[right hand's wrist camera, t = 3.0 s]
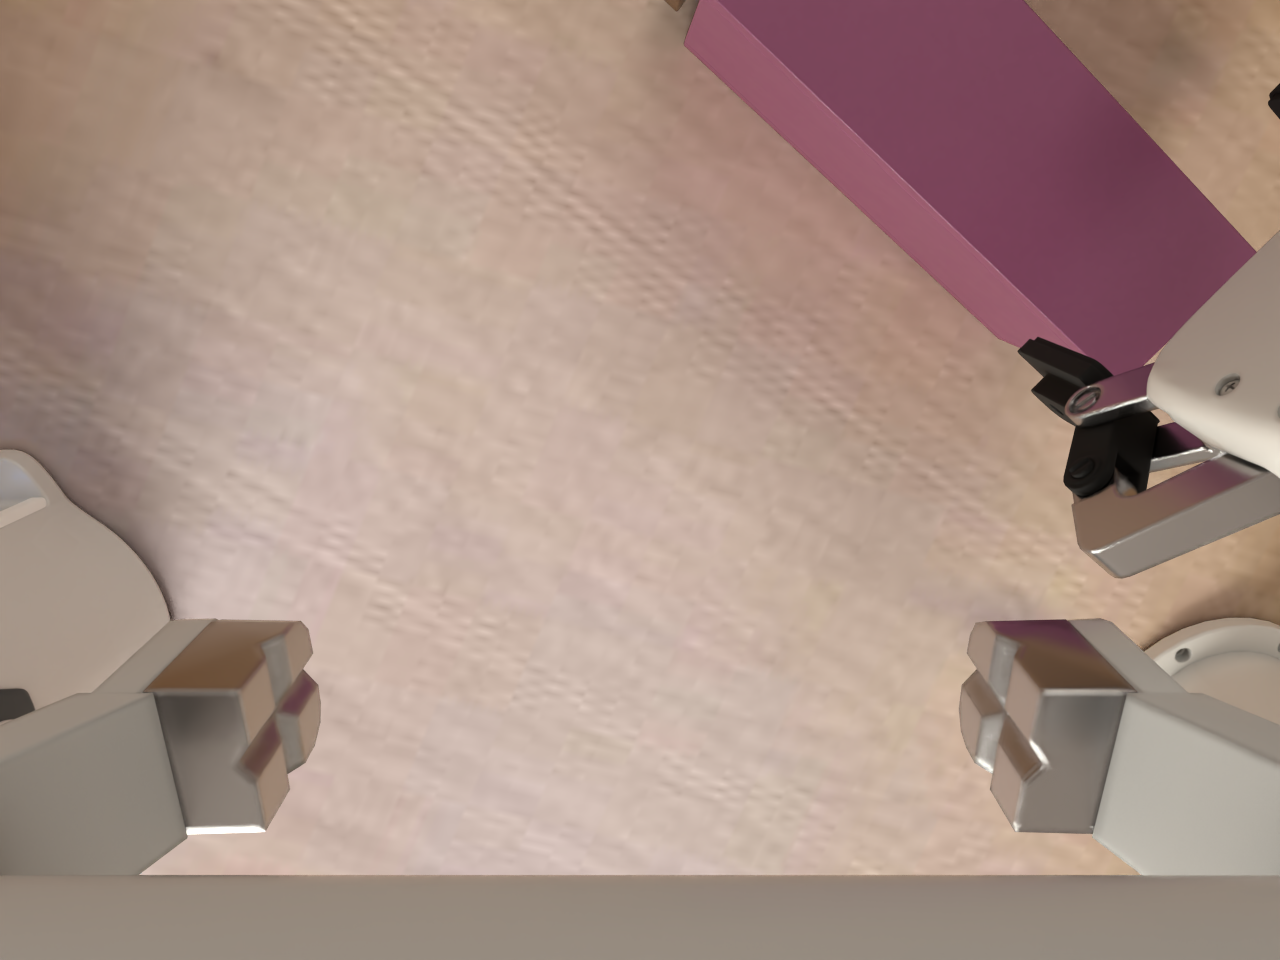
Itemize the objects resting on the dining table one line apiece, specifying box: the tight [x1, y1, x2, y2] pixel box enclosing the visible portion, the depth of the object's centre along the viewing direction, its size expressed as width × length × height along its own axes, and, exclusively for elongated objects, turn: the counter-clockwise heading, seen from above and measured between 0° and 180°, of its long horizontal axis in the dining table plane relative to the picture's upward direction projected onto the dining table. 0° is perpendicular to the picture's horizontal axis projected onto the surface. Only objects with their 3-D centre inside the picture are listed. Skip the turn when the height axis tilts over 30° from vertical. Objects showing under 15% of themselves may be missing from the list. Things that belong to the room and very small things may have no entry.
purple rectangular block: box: [684, 0, 1257, 376], centre depth 31 cm, size 20×6×10 cm, turn 51°
